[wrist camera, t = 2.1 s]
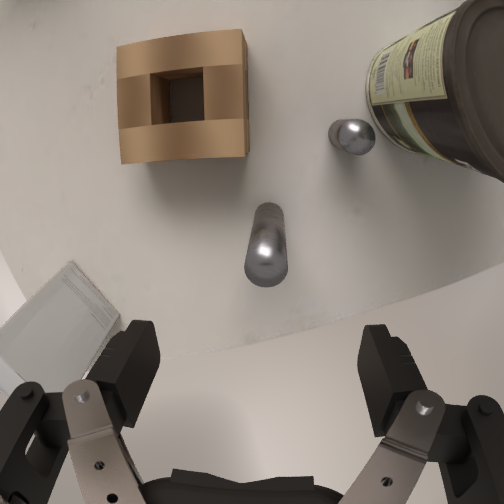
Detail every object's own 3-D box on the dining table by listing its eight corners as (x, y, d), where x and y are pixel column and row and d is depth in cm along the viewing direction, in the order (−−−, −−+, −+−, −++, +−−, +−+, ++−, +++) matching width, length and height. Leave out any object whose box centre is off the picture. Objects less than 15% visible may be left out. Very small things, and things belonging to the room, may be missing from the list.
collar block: (247, 44, 22) (241, 29, 18) (249, 150, 25) (244, 156, 21) (140, 56, 22) (116, 46, 18) (144, 156, 26) (121, 164, 22)
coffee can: (476, 148, 23) (587, 182, 10) (378, 162, 25) (468, 207, 12) (454, 39, 20) (559, 9, 7) (351, 43, 21) (421, -21, 8)
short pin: (357, 120, 24) (375, 120, 19) (357, 149, 25) (374, 156, 20) (328, 118, 24) (340, 118, 19) (328, 148, 25) (340, 154, 20)
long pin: (283, 202, 27) (288, 248, 18) (283, 230, 28) (287, 287, 18) (254, 202, 27) (243, 247, 18) (255, 229, 28) (244, 286, 19)
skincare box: (49, 284, 32) (-32, 361, 18) (74, 256, 30) (-18, 338, 16) (96, 337, 34) (35, 429, 20) (126, 316, 32) (60, 419, 19)
